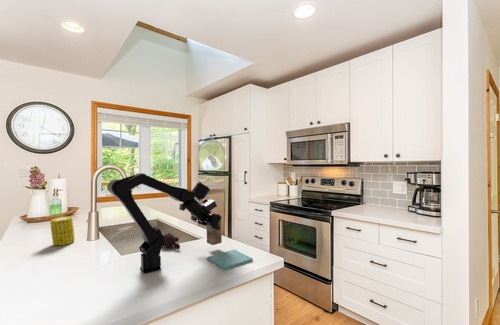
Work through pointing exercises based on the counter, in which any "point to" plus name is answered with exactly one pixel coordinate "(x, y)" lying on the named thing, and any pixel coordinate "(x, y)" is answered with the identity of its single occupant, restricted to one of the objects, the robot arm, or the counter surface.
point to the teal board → (229, 259)
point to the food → (62, 230)
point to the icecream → (170, 240)
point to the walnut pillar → (214, 235)
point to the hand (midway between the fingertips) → (216, 228)
